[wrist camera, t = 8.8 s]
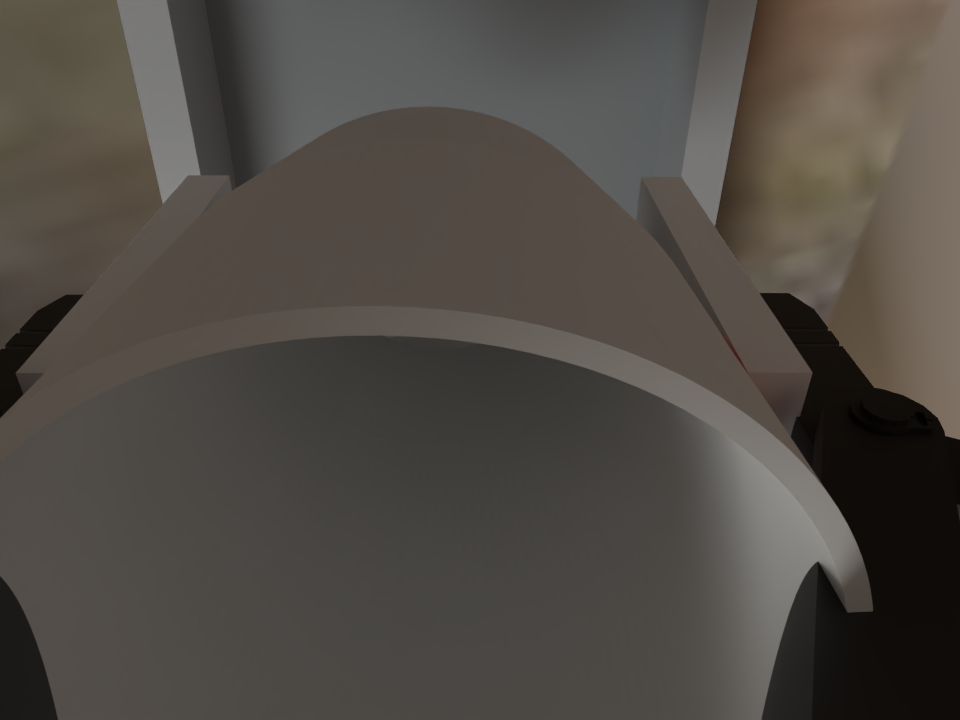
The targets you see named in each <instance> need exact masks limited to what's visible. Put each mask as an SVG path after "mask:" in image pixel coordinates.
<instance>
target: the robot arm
mask: <svg viewBox="0 0 960 720" xmlns="http://www.w3.org/2000/svg"><path fill="white" fill-rule="evenodd" d="M231 191H232V188H231V182H230V176H229V175H188V176H187V177H186V178H185V179H184V181H183V182H182V183H181V184H180V185H179V186H178V187H177V189H176V190H175V191H174V192H173V193H172V194H171V195H170V197H169V198H168V199H167V200H166V201H165V202H164V204H163V205H162V206H161V207H160V208H159V209H158V210H157V212H156V213H155V214H154V215H153V216H152V217H151V218H150V220H149V221H148V222H147V223H146V224H145V225H144V226H143V228H142V229H141V230H140V231H139V232H138V233H137V234H136V236H135V237H134V238H133V239H132V240H131V241H130V242H129V244H128V245H127V246H126V247H125V248H124V249H123V251H122V252H121V253H120V254H119V255H118V256H117V257H116V259H115V260H114V261H113V262H112V263H111V264H110V265H109V267H108V268H107V269H106V270H105V271H104V272H103V273H102V275H101V276H100V277H99V278H98V279H97V280H96V281H95V283H94V284H93V285H92V286H91V287H90V288H89V289H88V291H87V292H86V293H85V294H84V295H65V296H63V297H61V298H59V299H58V300H56V301H54V302H52V303H51V304H49V305H47V306H45V307H44V308H42V309H40V310H38V311H37V312H36V313H35V314H34V315H33V316H32V317H31V318H30V319H29V320H28V321H27V322H26V324H25V325H24V326H23V327H22V328H21V329H20V333H16V334H15V335H14V336H13V337H12V338H11V339H10V341H9V342H8V343H7V344H6V345H5V346H6V348H5V349H1V350H0V418H1V417H2V416H3V415H4V414H5V413H6V412H7V411H8V410H9V409H10V408H11V407H12V406H13V405H14V404H15V403H16V402H17V401H18V400H19V399H20V398H21V397H22V396H23V395H24V394H25V393H26V392H27V391H28V390H29V389H30V388H31V387H32V386H33V385H34V384H35V383H36V381H37V380H38V379H39V378H40V377H41V376H42V375H43V374H44V373H45V372H46V371H47V370H48V369H49V368H50V367H51V366H52V365H53V364H54V363H55V362H56V361H57V360H58V359H59V358H60V357H61V356H62V355H63V354H64V353H65V352H66V351H67V350H68V349H69V348H70V347H71V346H72V345H73V344H74V343H75V342H76V341H77V340H78V339H79V338H80V337H81V336H82V335H83V334H84V333H85V332H86V331H87V330H88V329H89V328H90V327H91V326H92V325H93V323H94V322H95V321H96V320H97V319H98V318H99V317H100V316H101V315H102V314H103V313H104V312H105V311H106V310H107V309H108V308H109V307H110V306H111V305H112V304H113V303H114V302H115V301H116V300H117V299H118V298H119V297H120V296H121V295H122V294H123V293H124V292H125V291H126V290H127V289H128V288H129V287H130V286H131V285H132V284H133V283H134V282H135V281H136V280H137V279H138V278H139V277H140V276H141V275H142V274H143V273H144V272H145V271H146V270H147V269H148V268H149V267H150V266H151V264H152V263H153V262H154V261H155V260H156V259H157V258H158V257H159V256H160V255H161V254H162V253H163V252H164V251H165V250H166V249H167V248H168V247H169V246H170V245H171V244H172V243H173V242H174V241H175V240H176V239H177V238H178V237H179V236H180V235H181V234H182V233H183V232H184V231H185V230H186V229H187V228H188V227H189V226H190V225H191V224H192V223H193V222H194V221H195V220H196V219H197V218H198V217H199V216H200V215H201V214H202V213H204V212H205V211H206V210H207V209H208V208H210V207H211V206H212V205H213V204H215V203H216V202H217V201H219V200H220V199H221V198H223V197H224V196H225V195H227V194H228V193H230V192H231ZM636 221H637V222H638V223H639V224H640V225H641V226H642V227H643V228H644V229H645V230H646V231H647V232H648V233H649V234H650V235H651V236H652V237H653V238H654V239H655V240H656V241H657V242H658V244H659V245H660V246H661V247H662V248H663V249H664V251H665V252H666V253H667V254H668V256H669V257H670V258H671V260H672V261H673V262H674V264H675V265H676V267H677V268H678V270H679V271H680V273H681V274H682V276H683V277H684V279H685V280H686V282H687V283H688V285H689V286H690V288H691V289H692V291H693V292H694V294H695V295H696V296H697V298H698V299H699V301H700V302H701V304H702V305H703V307H704V308H705V310H706V311H707V313H708V314H709V316H710V317H711V319H712V320H713V322H714V323H715V325H716V326H717V328H718V329H719V331H720V332H721V334H722V335H723V337H724V338H725V340H726V341H727V343H728V344H729V346H730V347H731V349H732V350H733V352H734V353H735V355H736V356H737V358H738V359H739V361H740V362H741V364H742V365H743V367H744V368H745V370H746V371H747V373H748V374H749V376H750V377H751V379H752V380H753V382H754V383H755V385H756V386H757V388H758V389H759V391H760V392H761V394H762V395H763V397H764V398H765V400H766V401H767V403H768V404H769V406H770V407H771V409H772V410H773V412H774V413H775V415H776V416H777V418H778V419H779V421H780V422H781V424H782V425H783V426H784V428H785V429H786V431H787V432H788V434H789V435H790V437H791V438H792V440H793V441H794V443H795V444H796V446H797V447H798V449H799V450H800V452H801V453H802V455H803V456H804V458H805V459H806V461H807V462H808V464H809V465H810V467H811V468H812V470H813V471H814V473H815V474H816V476H817V477H818V479H819V480H820V482H821V483H822V485H823V486H824V488H825V489H826V491H827V492H828V494H829V495H830V497H831V498H832V500H833V501H834V503H835V504H836V506H837V507H838V509H839V510H840V512H841V514H842V516H843V517H844V519H845V521H846V522H847V524H848V526H849V528H850V530H851V532H852V534H853V536H854V538H855V541H856V543H857V545H858V548H859V551H860V553H861V556H862V558H863V562H864V565H865V568H866V572H867V575H868V580H869V584H870V589H871V596H872V603H873V611H870V612H847V611H846V609H845V607H844V606H843V604H842V602H841V600H840V599H839V597H838V595H837V593H836V592H835V590H834V588H833V586H832V585H831V583H830V581H829V580H828V578H827V576H826V574H825V573H824V571H823V569H822V567H821V566H820V564H819V562H816V563H815V564H814V565H813V566H812V567H811V568H810V569H809V571H808V572H807V574H806V575H805V577H804V579H803V581H802V583H801V585H800V587H799V589H798V591H797V593H796V596H795V599H794V601H793V604H792V606H791V609H790V612H789V615H788V618H787V621H786V624H785V627H784V631H783V634H782V638H781V641H780V644H779V648H778V652H777V656H776V659H775V663H774V667H773V671H772V675H771V679H770V683H769V688H768V692H767V696H766V700H765V705H764V709H763V714H762V720H960V440H959V439H955V438H951V437H946V436H945V433H944V430H943V428H942V426H941V424H940V422H939V420H938V418H937V417H936V416H935V415H933V414H932V413H931V412H930V411H929V410H928V409H926V408H925V407H924V406H923V405H921V404H919V403H917V402H915V401H913V400H911V399H909V398H907V397H905V396H903V395H900V394H897V393H893V392H890V391H887V390H883V389H878V388H874V387H873V386H872V384H871V383H870V382H869V380H868V379H867V378H866V377H865V375H864V374H863V373H862V371H861V370H860V369H859V367H858V366H857V365H856V364H855V362H854V361H853V360H852V358H851V357H850V356H849V354H848V353H847V352H846V350H845V349H844V348H843V347H842V346H839V341H838V340H837V339H836V337H835V336H834V335H833V333H832V332H831V331H828V327H827V326H826V324H825V323H824V322H823V320H822V319H821V318H820V317H819V315H818V314H817V313H816V311H815V310H814V309H813V308H811V307H810V306H808V305H806V304H805V303H803V302H802V301H800V300H799V299H797V298H795V297H794V296H792V295H791V294H789V293H759V292H758V290H757V289H756V287H755V286H754V284H753V283H752V281H751V280H750V278H749V277H748V275H747V274H746V272H745V271H744V269H743V268H742V266H741V265H740V264H739V262H738V261H737V259H736V258H735V256H734V255H733V253H732V252H731V250H730V249H729V247H728V246H727V244H726V243H725V241H724V240H723V238H722V237H721V235H720V234H719V232H718V231H717V229H716V228H715V226H714V225H713V223H712V222H711V220H710V219H709V217H708V216H707V214H706V213H705V211H704V210H703V208H702V207H701V205H700V204H699V202H698V201H697V199H696V198H695V196H694V195H693V193H692V192H691V190H690V189H689V187H688V186H687V184H686V183H685V181H684V180H683V178H682V177H641V182H640V190H639V198H638V206H637V214H636ZM0 720H58V717H57V713H56V708H55V704H54V700H53V696H52V692H51V688H50V685H49V681H48V677H47V673H46V670H45V667H44V663H43V660H42V657H41V654H40V651H39V648H38V645H37V642H36V639H35V637H34V634H33V632H32V629H31V626H30V624H29V622H28V620H27V617H26V615H25V613H24V611H23V609H22V607H21V605H20V603H19V601H18V600H17V598H16V596H15V595H14V593H13V591H12V590H11V589H10V587H9V586H8V585H7V583H6V582H5V581H4V580H3V579H2V577H1V576H0Z"/></svg>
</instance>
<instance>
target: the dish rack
mask: <svg viewBox="0 0 960 720" xmlns="http://www.w3.org/2000/svg"><path fill="white" fill-rule="evenodd" d="M117 3H118V7H119V12H120V16H121V21H122V25H123V30H124V34H125V38H126V43H127V47H128V52H129V56H130V61H131V65H132V69H133V74H134V78H135V83H136V87H137V91H138V96H139V100H140V105H141V109H142V114H143V118H144V122H145V127H146V131H147V136H148V140H149V145H150V149H151V153H152V158H153V162H154V167H155V171H156V175H157V180H158V184H159V189H160V193H161V198H162V202H163V204H164V202H165V201H166V200H167V199H168V198H169V197H170V195H171V194H172V193H173V192H174V191H175V190H176V189H177V187H178V186H179V185H180V184H181V183H182V182H183V181H184V179H185V178H186V177H187V176H188V175H229V176H230V182H231V188H232V191H233V190H234V189H236V188H237V187H239V186H241V185H242V184H244V183H245V182H247V181H249V180H250V179H252V178H253V177H255V176H257V175H258V174H260V173H261V172H263V171H265V170H266V169H268V168H269V167H271V166H273V165H274V164H276V163H278V162H279V161H281V160H282V159H284V158H286V157H287V156H289V155H290V154H292V153H294V152H295V151H297V150H298V149H300V148H302V147H303V146H305V145H306V144H308V143H310V142H311V141H313V140H314V139H316V138H318V137H319V136H321V135H323V134H324V133H326V132H328V131H330V130H332V129H334V128H336V127H338V126H340V125H342V124H344V123H347V122H349V121H352V120H354V119H357V118H360V117H363V116H366V115H370V114H374V113H377V112H382V111H387V110H392V109H399V108H407V107H448V108H457V109H464V110H470V111H475V112H479V113H483V114H487V115H490V116H494V117H497V118H500V119H502V120H505V121H508V122H510V123H513V124H515V125H517V126H520V127H522V128H524V129H526V130H528V131H530V132H531V133H533V134H535V135H537V136H539V137H540V138H542V139H544V140H545V141H547V142H548V143H550V144H551V145H553V146H554V147H555V148H557V149H558V150H559V151H561V152H562V153H563V154H564V155H565V156H567V157H568V158H569V159H570V160H571V161H572V162H573V163H574V164H575V165H576V166H578V167H579V168H580V169H581V170H582V171H583V172H584V173H585V174H586V175H587V176H588V177H589V178H590V179H592V180H593V181H594V182H595V183H596V184H597V185H598V186H599V187H600V188H601V189H602V190H603V191H604V192H605V193H607V194H608V195H609V196H610V197H611V198H612V199H613V200H614V201H615V202H616V203H617V204H618V205H619V206H621V207H622V208H623V209H624V210H625V211H626V212H627V213H628V214H629V215H630V216H631V217H632V218H633V219H635V220H636V214H637V206H638V198H639V190H640V182H641V177H682V178H683V180H684V181H685V183H686V184H687V186H688V187H689V189H690V190H691V192H692V193H693V195H694V196H695V198H696V199H697V201H698V202H699V204H700V205H701V207H702V208H703V210H704V211H705V213H706V214H707V216H708V217H709V219H710V220H711V222H712V223H713V225H714V226H715V224H716V219H717V214H718V208H719V203H720V198H721V192H722V187H723V182H724V176H725V171H726V166H727V160H728V155H729V150H730V144H731V139H732V134H733V128H734V123H735V118H736V112H737V107H738V102H739V96H740V91H741V86H742V80H743V75H744V70H745V64H746V59H747V54H748V48H749V43H750V38H751V32H752V27H753V22H754V16H755V11H756V6H757V0H117Z"/></svg>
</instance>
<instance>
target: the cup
mask: <svg viewBox="0 0 960 720" xmlns="http://www.w3.org/2000/svg"><path fill="white" fill-rule="evenodd" d="M816 562H819V564H820V566H821V567H822V569H823V571H824V573H825V574H826V576H827V578H828V580H829V581H830V583H831V585H832V586H833V588H834V590H835V592H836V593H837V595H838V597H839V599H840V600H841V602H842V604H843V606H844V607H845V609H846V611H847V612H870V611H873V603H872V596H871V589H870V584H869V580H868V575H867V572H866V568H865V565H864V562H863V558H862V556H861V553H860V551H859V548H858V545H857V543H856V541H855V538H854V536H853V534H852V532H851V530H850V528H849V526H848V524H847V522H846V521H845V519H844V517H843V516H842V514H841V512H840V510H839V509H838V507H837V506H836V504H835V503H834V501H833V500H832V498H831V497H830V495H829V494H828V492H827V491H826V489H825V488H824V486H823V485H822V483H821V482H820V480H819V479H818V477H817V476H816V474H815V473H814V471H813V470H812V468H811V467H810V465H809V464H808V462H807V461H806V459H805V458H804V456H803V455H802V453H801V452H800V450H799V449H798V447H797V446H796V444H795V443H794V441H793V440H792V438H791V437H790V435H789V434H788V432H787V431H786V429H785V428H784V426H783V425H782V424H781V422H780V421H779V419H778V418H777V416H776V415H775V413H774V412H773V410H772V409H771V407H770V406H769V404H768V403H767V401H766V400H765V398H764V397H763V395H762V394H761V392H760V391H759V389H758V388H757V386H756V385H755V383H754V382H753V380H752V379H751V377H750V376H749V374H748V373H747V371H746V370H745V368H744V367H743V365H742V364H741V362H740V361H739V359H738V358H737V356H736V355H735V353H734V352H733V350H732V349H731V347H730V346H729V344H728V343H727V341H726V340H725V338H724V337H723V335H722V334H721V332H720V331H719V329H718V328H717V326H716V325H715V323H714V322H713V320H712V319H711V317H710V316H709V314H708V313H707V311H706V310H705V308H704V307H703V305H702V304H701V302H700V301H699V299H698V298H697V296H696V295H695V294H694V292H693V291H692V289H691V288H690V286H689V285H688V283H687V282H686V280H685V279H684V277H683V276H682V274H681V273H680V271H679V270H678V268H677V267H676V265H675V264H674V262H673V261H672V260H671V258H670V257H669V256H668V254H667V253H666V252H665V251H664V249H663V248H662V247H661V246H660V245H659V244H658V242H657V241H656V240H655V239H654V238H653V237H652V236H651V235H650V234H649V233H648V232H647V231H646V230H645V229H644V228H643V227H642V226H641V225H640V224H639V223H638V222H637V221H636V220H635V219H633V218H632V217H631V216H630V215H629V214H628V213H627V212H626V211H625V210H624V209H623V208H622V207H621V206H619V205H618V204H617V203H616V202H615V201H614V200H613V199H612V198H611V197H610V196H609V195H608V194H607V193H605V192H604V191H603V190H602V189H601V188H600V187H599V186H598V185H597V184H596V183H595V182H594V181H593V180H592V179H590V178H589V177H588V176H587V175H586V174H585V173H584V172H583V171H582V170H581V169H580V168H579V167H578V166H576V165H575V164H574V163H573V162H572V161H571V160H570V159H569V158H568V157H567V156H565V155H564V154H563V153H562V152H561V151H559V150H558V149H557V148H555V147H554V146H553V145H551V144H550V143H548V142H547V141H545V140H544V139H542V138H540V137H539V136H537V135H535V134H533V133H531V132H530V131H528V130H526V129H524V128H522V127H520V126H517V125H515V124H513V123H510V122H508V121H505V120H502V119H500V118H497V117H494V116H490V115H487V114H483V113H479V112H475V111H470V110H464V109H457V108H448V107H407V108H399V109H392V110H387V111H382V112H377V113H374V114H370V115H366V116H363V117H360V118H357V119H354V120H352V121H349V122H347V123H344V124H342V125H340V126H338V127H336V128H334V129H332V130H330V131H328V132H326V133H324V134H323V135H321V136H319V137H318V138H316V139H314V140H313V141H311V142H310V143H308V144H306V145H305V146H303V147H302V148H300V149H298V150H297V151H295V152H294V153H292V154H290V155H289V156H287V157H286V158H284V159H282V160H281V161H279V162H278V163H276V164H274V165H273V166H271V167H269V168H268V169H266V170H265V171H263V172H261V173H260V174H258V175H257V176H255V177H253V178H252V179H250V180H249V181H247V182H245V183H244V184H242V185H241V186H239V187H237V188H236V189H234V190H233V191H231V192H230V193H228V194H227V195H225V196H224V197H223V198H221V199H220V200H219V201H217V202H216V203H215V204H213V205H212V206H211V207H210V208H208V209H207V210H206V211H205V212H204V213H202V214H201V215H200V216H199V217H198V218H197V219H196V220H195V221H194V222H193V223H192V224H191V225H190V226H189V227H188V228H187V229H186V230H185V231H184V232H183V233H182V234H181V235H180V236H179V237H178V238H177V239H176V240H175V241H174V242H173V243H172V244H171V245H170V246H169V247H168V248H167V249H166V250H165V251H164V252H163V253H162V254H161V255H160V256H159V257H158V258H157V259H156V260H155V261H154V262H153V263H152V264H151V266H150V267H149V268H148V269H147V270H146V271H145V272H144V273H143V274H142V275H141V276H140V277H139V278H138V279H137V280H136V281H135V282H134V283H133V284H132V285H131V286H130V287H129V288H128V289H127V290H126V291H125V292H124V293H123V294H122V295H121V296H120V297H119V298H118V299H117V300H116V301H115V302H114V303H113V304H112V305H111V306H110V307H109V308H108V309H107V310H106V311H105V312H104V313H103V314H102V315H101V316H100V317H99V318H98V319H97V320H96V321H95V322H94V323H93V325H92V326H91V327H90V328H89V329H88V330H87V331H86V332H85V333H84V334H83V335H82V336H81V337H80V338H79V339H78V340H77V341H76V342H75V343H74V344H73V345H72V346H71V347H70V348H69V349H68V350H67V351H66V352H65V353H64V354H63V355H62V356H61V357H60V358H59V359H58V360H57V361H56V362H55V363H54V364H53V365H52V366H51V367H50V368H49V369H48V370H47V371H46V372H45V373H44V374H43V375H42V376H41V377H40V378H39V379H38V380H37V381H36V383H35V384H34V385H33V386H32V387H31V388H30V389H29V390H28V391H27V392H26V393H25V394H24V395H23V396H22V397H21V398H20V399H19V400H18V401H17V402H16V403H15V404H14V405H13V406H12V407H11V408H10V409H9V410H8V411H7V412H6V413H5V414H4V415H3V416H2V417H1V418H0V576H1V577H2V579H3V580H4V581H5V582H6V583H7V585H8V586H9V587H10V589H11V590H12V591H13V593H14V595H15V596H16V598H17V600H18V601H19V603H20V605H21V607H22V609H23V611H24V613H25V615H26V617H27V620H28V622H29V624H30V626H31V629H32V632H33V634H34V637H35V639H36V642H37V645H38V648H39V651H40V654H41V657H42V660H43V663H44V667H45V670H46V673H47V677H48V681H49V685H50V688H51V692H52V696H53V700H54V704H55V708H56V713H57V717H58V720H762V714H763V709H764V705H765V700H766V696H767V692H768V688H769V683H770V679H771V675H772V671H773V667H774V663H775V659H776V656H777V652H778V648H779V644H780V641H781V638H782V634H783V631H784V627H785V624H786V621H787V618H788V615H789V612H790V609H791V606H792V604H793V601H794V599H795V596H796V593H797V591H798V589H799V587H800V585H801V583H802V581H803V579H804V577H805V575H806V574H807V572H808V571H809V569H810V568H811V567H812V566H813V565H814V564H815V563H816Z"/></svg>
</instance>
